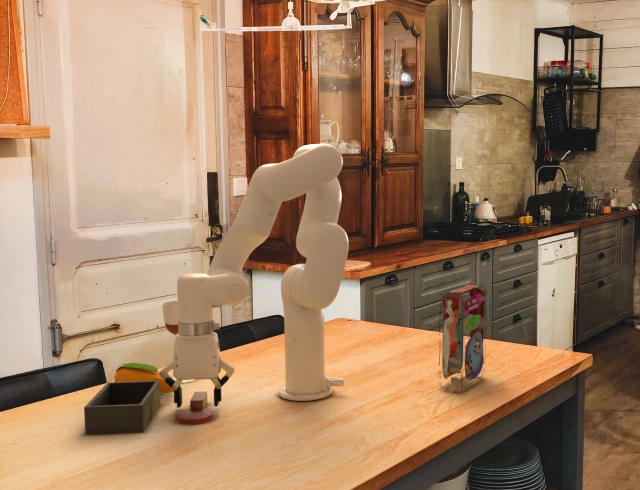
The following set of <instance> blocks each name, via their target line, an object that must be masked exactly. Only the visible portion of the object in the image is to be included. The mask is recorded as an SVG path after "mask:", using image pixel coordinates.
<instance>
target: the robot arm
mask: <svg viewBox="0 0 640 490" xmlns="http://www.w3.org/2000/svg"><path fill="white" fill-rule="evenodd" d="M343 164H344V160H343V156H342V153H341V152H340V150H339V149H338V148H337V147H335V146H334V145H332V144H328V143H316V144H315V143H313V144H306V145H302V146H300V147H299V148H298V149H296V150H295V151H294V153H293V155H292V157H290V158H289V159H286V160H284V161H280V162H278V163H267V164H263V165H260V166H258V167H257V168H256V170H255V171H254V173H253V174H252V177H251V179H250V181H249V184H248V186H247V189H246V191H245V194H244V196H243V199H242V201H241V204H240V206H239V209H238V211H237V214H236V216H235V218H234V220H233V222H232V225H230V227H229V229H228V231H227V232H226V234H225V236H224V237H223V239H222V241H221V242H220V244H219V245H218V247H217V248H216V251H215V253H214V256H213V258H212V259H211V260H212V261H211V263H210V266H209V268H208V271H207V273H203V272H202V273H201V272H192V273H191V272H190V273H185V274H181V275H179V276H178V278H177V281H176V283H177V284H176V291H177V301H178V326H179V334H177V335H175V338H174V344H173V345H174V346H173V358H172V359H173V360H172V361H171V362H170V363H169V364H167V365H166V366H165V367H163V368H162V369H161V370H160V371H158V372H159V375H160V376H161V377H162V378H163V380H165V382H166V383H167V384H168V385H169V386H170V387H171V388H172V390H174V392H173V403H174V404H176V409H180V408H181V406H182V405H183V389H182V386H181V384H182V383H181V382H182V380H194V381H196V380H197V381H198V380H210V381H211V382H212V384H213V385H214V388H213V407H218V406H219V404H220V403H221V402H222V387H223V386H224V385H225V384H226V383H227V382H228V381H229V380H230V378H231V377H232V375H233V374H234V373H235V368H234V367H233V366H231V365H230V364H228V362H227V363H226V362H225V361H223V360H222V358H221V349H220V341H219V337H218V333H217V332H214V331H215V330H220V328H221V324H220V322H215V321H214V307H213V306H228V307H230V306H232V307H233V306H238V305H241V304H242V303H244V302H245V301H246V300H247V298H248V297H249V295H250V291H251V288H250V284H249V281H248V280H247V279H246V278H245V277H244V275H242V274H241V273H242V270H243V268H244V266H245V263H246V262H247V260H248V258H249V256H250V255H251V253H253V251H254V250H256V248H258V247H259V246H260V245H262V244H263V243H264V242H266V240H267V239H268V238H269V237H270V235H271V232H272V229H273V227H274V225H275V222H276V219H277V217H278V214H279V212H280V209H281V206H282V203H283V202H288V201H291V200H293V199H296V198H298V197H300V196H303V195H305V202H304V208H303V210H302V211H303V212H302V215H301V219H300V222H299V226H298V230H297V234H296V239H295V246H296V250H297V251H298V253H299V255H301V256H302V257H304V258H306V260H305V263H297V264H293V265H292V266H290V267H288V268H287V270H285V272H284V274H283V275H282V278H281V282H280V294H281V300H282V309H283V320H284V323H283V324H284V331H283V332H284V379H285V380H284V381H285V382H284V383H285V385H283V386H281V387H280V388H279V390H278V396H280V397H281V398H282V399H284V400H289V401H298V402H307V401H308V402H309V401H316V400H322V399H324V398H327V397H329V396H330V395H331V394H332V393H333V392H332V391H333V390H332V387H337V388H338V387H344V386H345V379H344V377H342V378H339V376H333V377H330V376H329V375H328V376H327V372H326V359H325V358H326V357H325V356H326V355H325V354H326V352H325V348H326V347H325V346H326V345H325V315H324V314H325V313H324V309H326V308H328V307H330V306H331V305H332V303H333V302H334V301H335V300H336V298H337V296H338V293H339V291H340V288H341V283H342V279H343V276H344V272H345V267H346V264H347V260H348V256H349V255H348V254H349V250H350V249H349V248H350V242H349V238H348V234H347V232H346V231H345V229H344V228H343V227H342V226H341V225H340V224H338V222H339V216H340V211H341V207H342V198H343V197H342V196H343V195H342V188H341V185H340V181H339V179H338V176H339V175H340V173H341V171H342V168H343V166H344V165H343ZM222 370H223V371H224V372H225V374H224V375H223V376H222V377H220V376H219V375H220V373H221V371H222ZM171 371H172V374H173V377H174V378H176V381H175V380H174V379H172V378H171V377H172V376H171V375H169V372H171Z"/></svg>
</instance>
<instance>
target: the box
mask: <svg viewBox="0 0 640 490" xmlns="http://www.w3.org/2000/svg"><path fill="white" fill-rule="evenodd" d="M488 289H489V288H488V286H487V284H484V285H483V284H481V286H480V285H476V284H466V285H462V286H457V287H456V288H451V289H448V290H446V291H444V292H443V293H439V296H441V304H439V307H440V308H439V323H438V326H439V327H438V329H439V332H438V333H439V335H441V323H442V344H441V341H439V343H438V344H439V348H438V352H439V353H438V354H439V355H438V361H439V362H438V365H441V369H442V374H441V371H439V378H442V376H443V378H444V379H446V380H448V378H449V377H450V380H449V381H448V382H447V383H446V384H445V385H441V383H438V385H439V387H440V388H445V392H446V393H447V392H448V393H450V391H449V390H451V391H453V392H454V393H456V394H459V393H463V391H461V392H460V391H459V392H458V391H456V390H455V389H452V388H449V386H451V385H453V386H457V387H459V386H460V390H462V389H465V388H466V386H464V385H463V379H465V380H466V381H473V380H475V379H476V378H477V380H475V382H477V381H478V382H477V383H475V384H473V382H471V383H470V384H469V385H467V387H469V386H471V385H473V387H475V386H476V385H478V384H479V383H480V382H482V381H483V378H482V377H478V376H479V375H481V373H482V375H484V373H485V370H486V369H484V364H485V355H484V352H485V348H484V341H485V339H486V336H484V332H486V330H487V328H484V326H483V325H480V324H481V323H482V322H483V320H484V319H485V307H487V303H486V302H487V298H488V294H489V290H488ZM467 291H468V293H467V294H466V292H467ZM466 296H467V299H466ZM469 296H470V297H469ZM465 299H466V300H465ZM441 312H442V313H441ZM441 315H442V317H441ZM465 315H467V316H466V318H465ZM441 320H442V321H441ZM479 325H480V326H479ZM469 333H470V335H469ZM468 335H469V338H468V341H467V342H466V344H464V337H468ZM463 367H464V371H463ZM456 374H458V375H457V376H453V375H456ZM464 374H465V375H464ZM463 375H464V377H463ZM459 376H460V379H459V378H458V377H459ZM480 379H481V380H480ZM450 383H451V384H450ZM448 384H449V386H447V385H448ZM446 386H447V387H446ZM468 390H469V388H467V389H466V391H468Z"/></svg>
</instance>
